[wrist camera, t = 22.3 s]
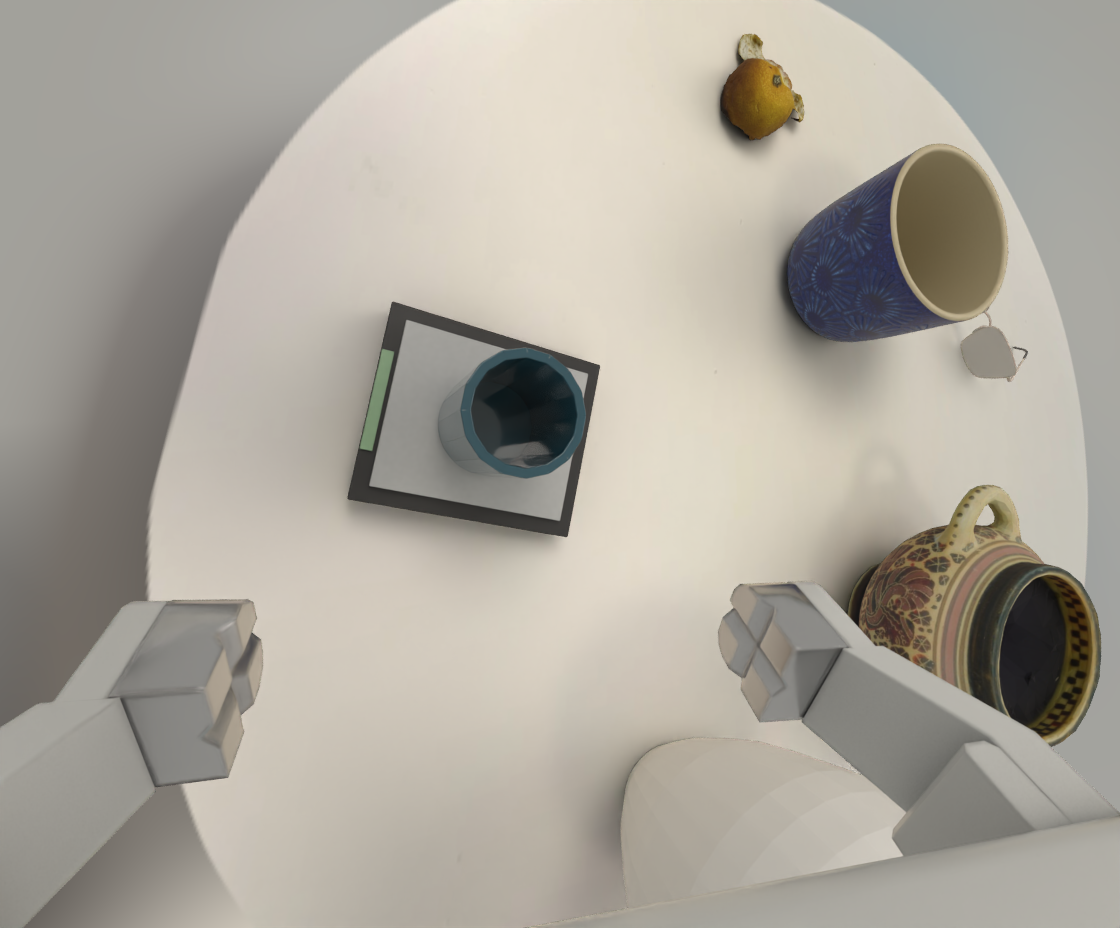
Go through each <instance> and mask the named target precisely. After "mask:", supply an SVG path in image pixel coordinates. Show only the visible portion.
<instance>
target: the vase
mask: <svg viewBox="0 0 1120 928" xmlns="http://www.w3.org/2000/svg"><path fill="white" fill-rule="evenodd" d="M905 814H906V812H905V811H904V810H903V809H902V808H901V807H899V806H898V805H897V804H896V803H895V802H894V801H893V800H891V799H890V798H889V797H888V796H887V795H886V794H884V793H883V792H882V791H881V790H880V789H879V788H878V787H876V786H875V785H874V784H873V783H872V782H871V781H869V780H868V779H867V778H866V777H865V776H864V775H861V774H858V773H856V772H853V771H850V770H847V769H844V768H842V767H839V766H836V765H833V764H830V763H827V762H824V761H821V760H818V759H815V758H812V757H809V756H806V755H803V754H800V753H798V752H795V751H792V750H788V749H785V748H781V747H778V746H774V745H770V744H766V743H762V742H759V741H751V740H740V739H730V738H689V739H684V740H680V741H675V742H672V743H669V744H664V745H660V746H658V747H655V748H653V749H652V750H650V751H649V752H647V753H646V754H645V755H644V756H643V757H642V758H641V759H640V760H639V761H638V762H637V764H636V765H635V767H634V768H633V770H632V772H631V774H630V776H629V778H628V781H627V784H626V788H625V794H624V804H623V810H622V817H621V848H622V863H623V875H624V883H625V891H626V900H627V908H631V907H636V906H642V905H647V904H652V903H658V902H663V901H668V900H673V899H679V898H684V897H689V896H695V895H700V894H705V893H711V892H716V891H721V890H726V889H732V888H737V887H742V886H748V885H753V884H758V883H763V882H769V881H774V880H779V879H785V878H790V877H795V876H800V875H806V874H811V873H816V872H822V871H827V870H832V869H838V868H843V867H848V866H853V865H859V864H864V863H869V862H875V861H880V860H885V859H890V858H896V857H901V856H903V855H902V853H901V852H900V850H899V849H898V847H897V846H896V844H895V842H894V841H893V839H892V833H893V828H894V827H895V826H896V825H897V824H898V822H899V821H900V820H901V819H902V818H903V816H904V815H905Z"/></svg>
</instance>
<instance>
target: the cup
mask: <svg viewBox="0 0 1120 928" xmlns="http://www.w3.org/2000/svg"><path fill="white" fill-rule="evenodd" d="M585 420H586V411H585V405H584V399H583V394H582V390H581V389H580V387H579V385H578V384H577V382H576V380H575V379H574V377H573V375H572V373H571V372H570V371H569V369H568V368H566V367H565V366H564V365H563V364H561V363H560V362H559V361H558V360H556V359H555V358H554V357H553V356H551V355H550V354H547V353H544V352H540V351H537V350H534V349H531V348H526V347H525V348H516V349H507V350H502V351H499V352H498V353H496V354H494V355H493V356H491V357H489V358H488V359H486V360H484V361H483V362H481V363H480V364H479V365H478V366H477V367H475V368H474V369H473V370H472V371H471V372H470V373H469V374H468V375H466V376H465V377H464V378H463V379H462V380H461V381H460V382H459V383H457V384H456V385H455V386H454V387H453V388H452V390H451V391H450V392H449V393H448V395H447V396H446V398H445V399H444V401H443V403H442V405H441V408H440V411H439V415H438V434H439V438H440V441H441V444H442V446H443V448H444V450H445V452H446V453H447V455H448V456H449V457H450V458H451V459H452V460H453V461H454V462H455V463H456V464H457V465H458V466H460V467H461V468H463V469H464V470H466V471H469V472H471V473H474V474H478V475H484V476H489V477H504V478H521V479H528V478H533V477H537V476H542V475H547V474H549V473H551V472H553V471H554V470H556V469H557V468H559V467H560V466H561V465H563V464H564V463H566V462H567V461H568V460H569V459H570V458H571V456H572V455H573V453H574V451H575V450H576V448H577V447H578V445H579V444H580V442H581V439H582V436H583V431H584V426H585Z"/></svg>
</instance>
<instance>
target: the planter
mask: <svg viewBox="0 0 1120 928" xmlns="http://www.w3.org/2000/svg"><path fill="white" fill-rule="evenodd" d="M1007 259H1008V235H1007V226H1006V221H1005V216H1004V212H1003V208H1002V205H1001V202H1000V199H999V197H998V194H997V192H996V190H995V188H994V186H993V184H992V182H991V180H990V179H989V177H988V175H987V174H986V172H985V171H984V170H983V169H982V167H981V166H980V165H979V164H978V163H977V162H976V161H975V160H974V159H973V158H972V157H971V156H970V155H968V154H967V153H966V152H964V151H962V150H961V149H959V148H957V147H954V146H951V145H947V144H931V145H927V146H925V147H922V148H920V149H918V150H917V151H915V152H914V153H912V154H910V155H909V156H907V157H906V158H904V159H902V160H901V161H899V162H897V163H896V164H894V165H892V166H891V167H889V168H887V169H886V170H884V171H883V172H881V173H879V174H878V175H876V176H874V177H873V178H871V179H870V180H868V181H866V182H865V183H863V184H862V185H860V186H858V187H857V188H855V189H853V190H852V191H850V192H849V193H847V194H846V195H844V196H843V197H841V198H840V199H838V200H837V201H835V202H834V203H832V204H831V205H829V206H828V207H827V208H825V209H824V210H823V211H821V212H820V213H819V214H817V215H816V216H815V217H814V218H813V219H812V220H810V221H809V222H808V224H807V225H806V226H805V227H804V228H803V229H802V230H801V232H800V233H799V235H798V236H797V238H796V240H795V242H794V244H793V246H792V249H791V252H790V256H789V260H788V271H787V275H788V286H789V291H790V295H791V299H792V301H793V304H794V306H795V308H796V310H797V312H798V313H799V315H800V316H801V318H802V319H803V321H804V322H805V323H806V324H807V325H808V326H809V327H810V328H811V329H812V330H813V331H815V332H816V333H818V334H819V335H821V336H823V337H825V338H828V339H831V340H835V341H840V342H857V341H867V340H874V339H880V338H886V337H891V336H896V335H901V334H906V333H910V332H915V331H920V330H925V329H929V328H934V327H938V326H943V325H948V324H952V323H957V322H961V321H966V320H970V319H972V318H974V317H977V316H978V315H980V314H981V313H982V312H984V311H985V310H986V309H987V308H988V307H989V306H990V305H991V303H992V302H993V301H994V299H995V298H996V296H997V294H998V292H999V290H1000V288H1001V285H1002V282H1003V279H1004V276H1005V272H1006V266H1007Z"/></svg>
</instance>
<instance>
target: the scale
mask: <svg viewBox="0 0 1120 928" xmlns="http://www.w3.org/2000/svg"><path fill="white" fill-rule="evenodd" d="M525 347H526V348H531V349H534V350H537V351H540V352H544V353H547V354H550V355H551V356H553V357H554V358H555V359H556V360H558V361H559V362H560V363H561V364H563V365H564V366H565V367H566V368H568V369H569V371H570V372H571V373H572V375H573V377H574V379H575V380H576V382H577V384H578V385H579V387H580V389H581V390H582V394H583V399H584V405H585V411H586V420H585V426H584V431H583V436H582V439H581V442H580V444H579V445H578V447H577V448H576V450H575V451H574V453H573V455H572V456H571V458H570V459H569V460H568V461H567V462H566V463H564V464H563V465H561V466H560V467H559V468H557V469H556V470H554V471H553V472H551V473H549V474H547V475H542V476H537V477H533V478H528V479H521V478H504V477H489V476H484V475H478V474H474V473H471V472H469V471H466V470H464V469H463V468H461V467H460V466H458V465H457V464H456V463H455V462H454V461H453V460H452V459H451V458H450V457H449V456H448V455H447V453H446V452H445V450H444V448H443V446H442V444H441V441H440V438H439V434H438V415H439V411H440V408H441V405H442V403H443V401H444V399H445V398H446V396H447V395H448V393H449V392H450V391H451V390H452V388H453V387H454V386H455V385H456V384H457V383H459V382H460V381H461V380H462V379H463V378H464V377H465V376H466V375H468V374H469V373H470V372H471V371H472V370H473V369H474V368H475V367H477V366H478V365H479V364H480V363H481V362H483V361H484V360H486V359H488V358H489V357H491V356H493V355H494V354H496V353H498V352H499V351H502V350H507V349H516V348H525ZM599 369H600V365H597V364H594V363H591V362H587V361H584V360H581V359H578V358H574V357H571V356H568V355H565V354H561V353H558V352H555V351H552V350H548V349H545V348H542V347H539V346H535V345H532V344H529V343H526V342H522V341H519V340H516V339H513V338H509V337H506V336H503V335H500V334H496V333H493V332H490V331H487V330H483V329H480V328H477V327H474V326H470V325H467V324H464V323H461V322H457V321H454V320H451V319H448V318H444V317H441V316H438V315H435V314H431V313H428V312H425V311H422V310H418V309H415V308H412V307H409V306H405V305H402V304H399V303H396V302H392V304H391V308H390V313H389V317H388V322H387V326H386V330H385V335H384V339H383V344H382V348H381V352H380V357H379V361H378V366H377V370H376V374H375V379H374V383H373V388H372V392H371V396H370V401H369V405H368V410H367V414H366V418H365V423H364V427H363V432H362V436H361V440H360V445H359V449H358V454H357V458H356V462H355V467H354V471H353V476H352V480H351V484H350V489H349V493H348V499H349V500H355V501H360V502H366V503H372V504H378V505H384V506H389V507H395V508H401V509H407V510H412V511H418V512H424V513H430V514H436V515H441V516H447V517H453V518H459V519H464V520H470V521H476V522H482V523H488V524H493V525H499V526H505V527H511V528H517V529H522V530H528V531H534V532H540V533H545V534H551V535H557V536H563V537H567V536H568V532H569V526H570V521H571V516H572V511H573V505H574V500H575V495H576V490H577V484H578V479H579V474H580V469H581V463H582V458H583V453H584V448H585V442H586V437H587V432H588V427H589V421H590V416H591V411H592V406H593V400H594V395H595V390H596V385H597V379H598V374H599Z"/></svg>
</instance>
